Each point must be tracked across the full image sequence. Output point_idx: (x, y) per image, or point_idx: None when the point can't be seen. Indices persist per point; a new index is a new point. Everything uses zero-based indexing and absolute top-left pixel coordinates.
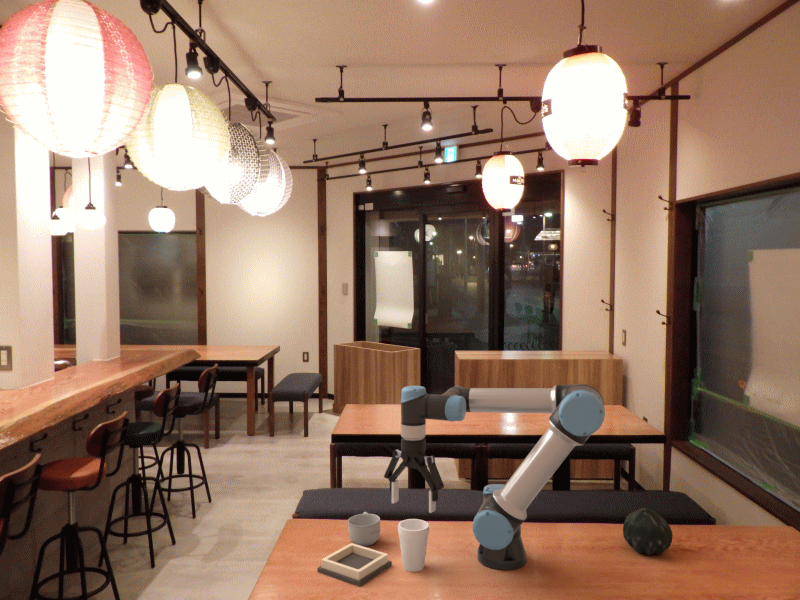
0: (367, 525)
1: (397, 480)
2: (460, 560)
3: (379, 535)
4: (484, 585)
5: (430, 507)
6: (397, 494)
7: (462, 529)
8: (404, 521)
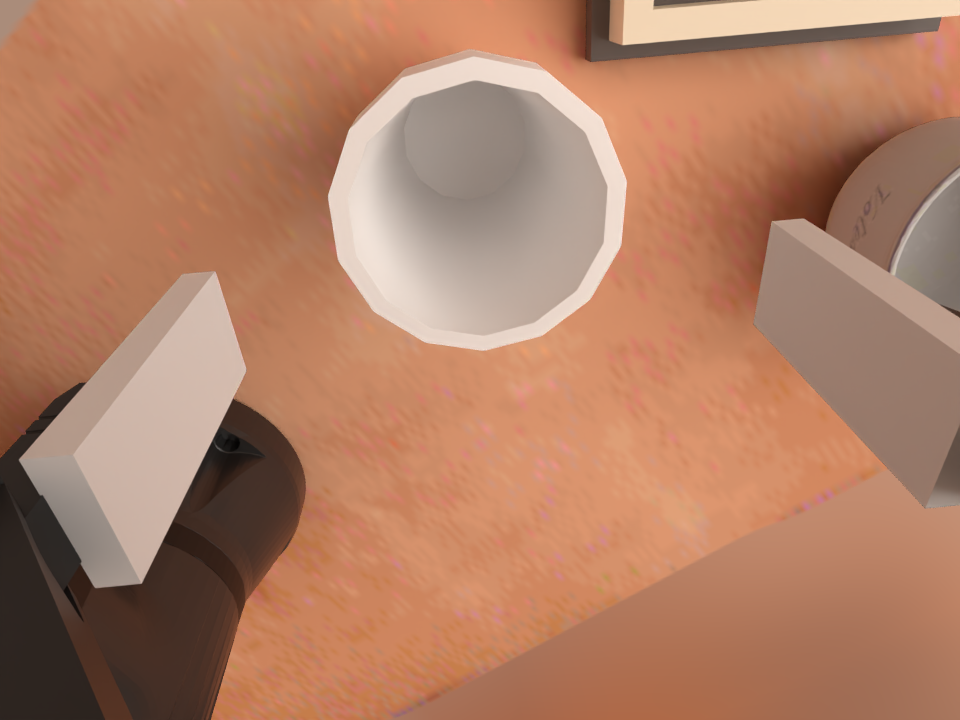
0: (957, 303)
1: (942, 495)
2: (320, 360)
3: None
4: (15, 215)
5: (165, 303)
6: (801, 349)
7: (521, 584)
8: (601, 236)
